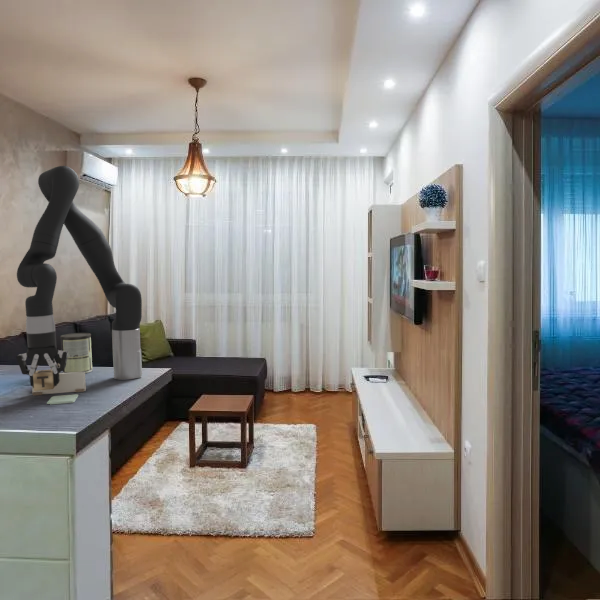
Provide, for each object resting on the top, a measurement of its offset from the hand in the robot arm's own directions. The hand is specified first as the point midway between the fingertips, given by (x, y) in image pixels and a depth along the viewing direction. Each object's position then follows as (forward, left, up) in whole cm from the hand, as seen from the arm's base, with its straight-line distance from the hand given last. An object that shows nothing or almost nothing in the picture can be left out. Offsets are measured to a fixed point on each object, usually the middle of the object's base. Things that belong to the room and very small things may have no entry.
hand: (45, 386), depth 141 cm
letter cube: (0, 0, -1) cm, 1 cm away
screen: (-3, -5, -4) cm, 7 cm away
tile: (-6, +5, -4) cm, 8 cm away
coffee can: (-3, -35, -4) cm, 36 cm away
